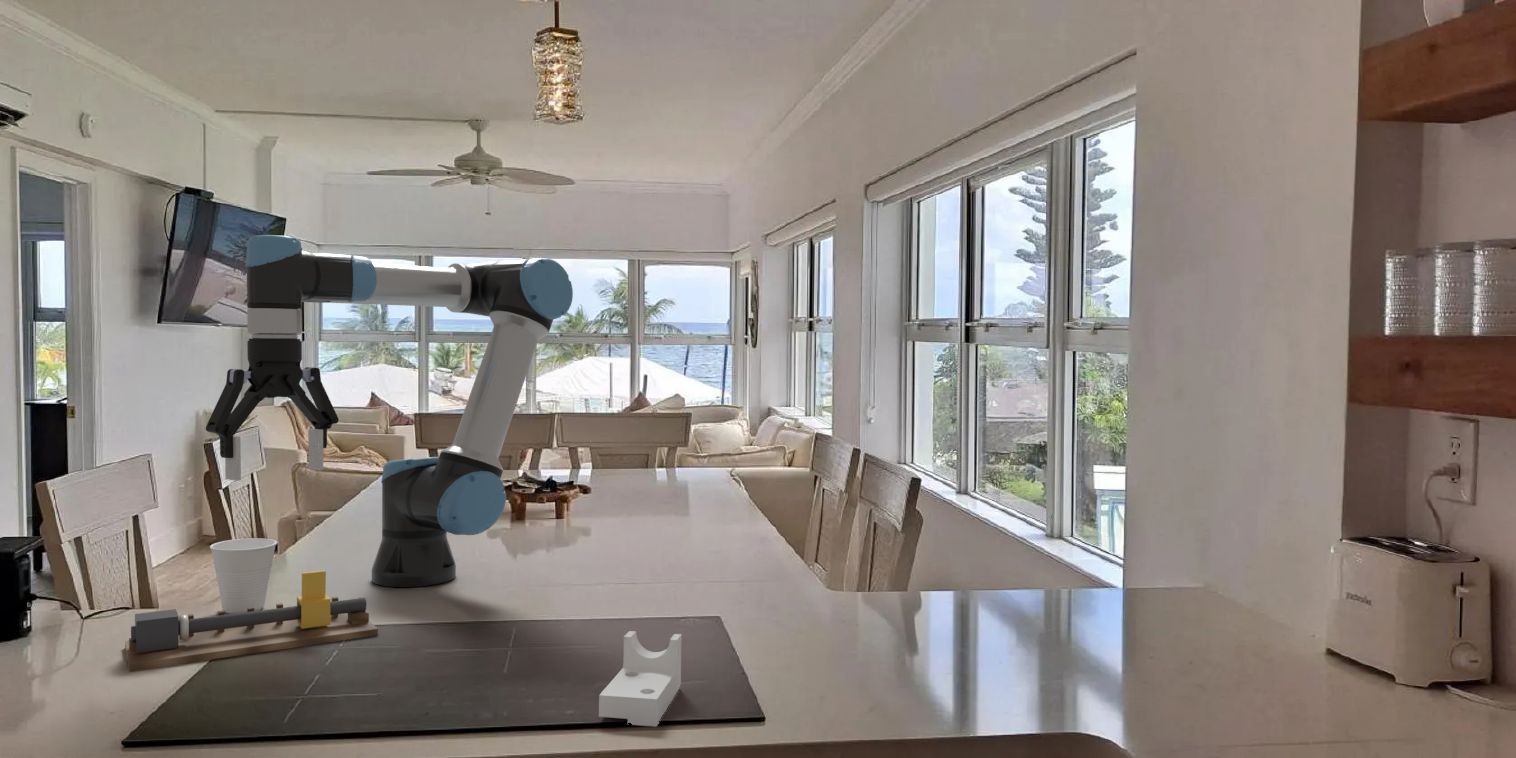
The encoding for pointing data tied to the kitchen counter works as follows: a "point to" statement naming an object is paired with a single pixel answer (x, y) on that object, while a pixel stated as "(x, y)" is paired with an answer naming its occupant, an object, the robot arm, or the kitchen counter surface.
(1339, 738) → the kitchen counter surface
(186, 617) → the connector
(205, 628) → the cord
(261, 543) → the cup
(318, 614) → the sleeve
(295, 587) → the kitchen counter surface
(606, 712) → the bracket
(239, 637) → the comb board
